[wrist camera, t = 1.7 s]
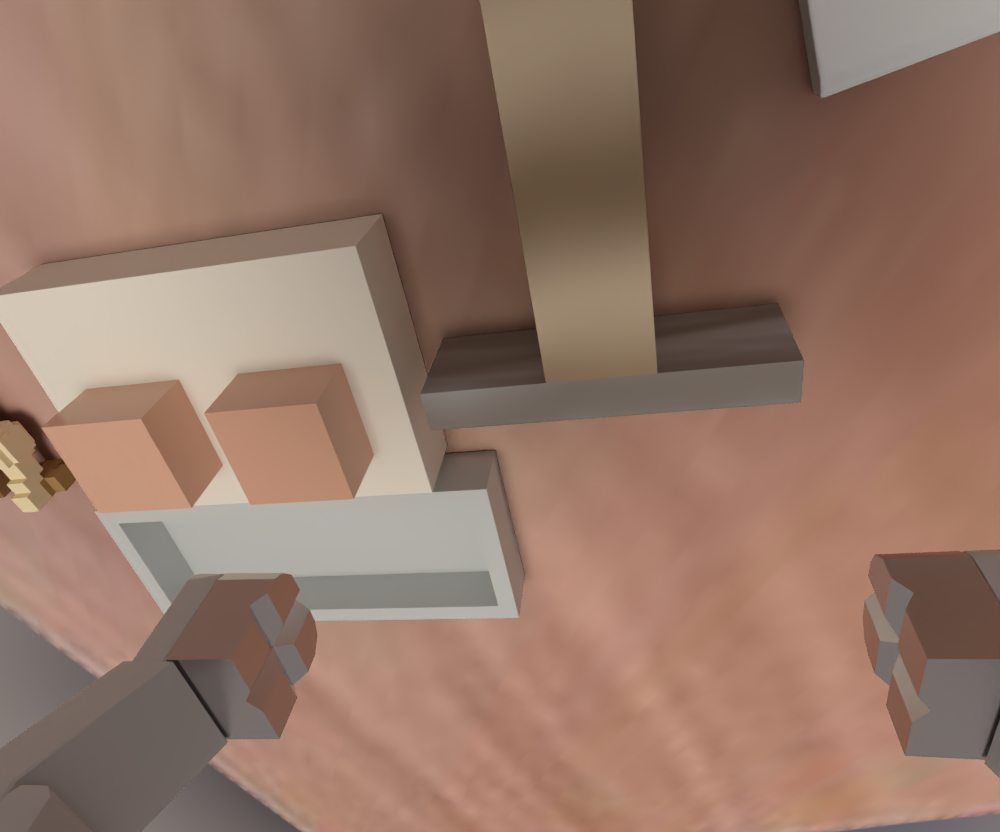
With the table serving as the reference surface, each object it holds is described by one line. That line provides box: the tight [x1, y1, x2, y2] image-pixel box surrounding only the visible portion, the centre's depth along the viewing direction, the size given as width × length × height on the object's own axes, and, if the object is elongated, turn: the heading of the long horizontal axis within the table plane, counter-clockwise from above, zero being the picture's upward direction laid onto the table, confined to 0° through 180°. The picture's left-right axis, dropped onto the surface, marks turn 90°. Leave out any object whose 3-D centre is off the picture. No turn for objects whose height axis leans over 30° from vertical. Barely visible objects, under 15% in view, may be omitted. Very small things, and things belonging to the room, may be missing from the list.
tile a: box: [41, 380, 223, 513], centre depth 25 cm, size 4×4×2 cm
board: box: [0, 214, 447, 506], centre depth 26 cm, size 10×14×3 cm
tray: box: [94, 450, 525, 621], centre depth 32 cm, size 8×18×2 cm, turn 100°
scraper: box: [420, 0, 804, 430], centre depth 20 cm, size 14×12×4 cm
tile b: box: [204, 363, 374, 505], centre depth 24 cm, size 4×4×2 cm
